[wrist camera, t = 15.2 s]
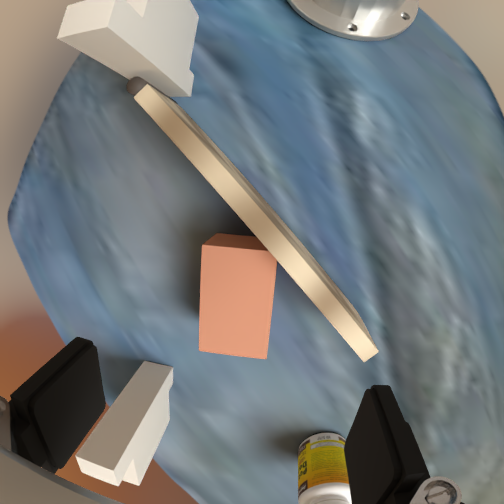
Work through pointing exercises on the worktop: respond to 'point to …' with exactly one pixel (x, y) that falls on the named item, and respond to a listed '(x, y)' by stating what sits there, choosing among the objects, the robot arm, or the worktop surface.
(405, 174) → the worktop surface
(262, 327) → the salmon orange block
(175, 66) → the wall frame
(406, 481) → the robot arm
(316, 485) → the supplement bottle
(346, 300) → the gate door
